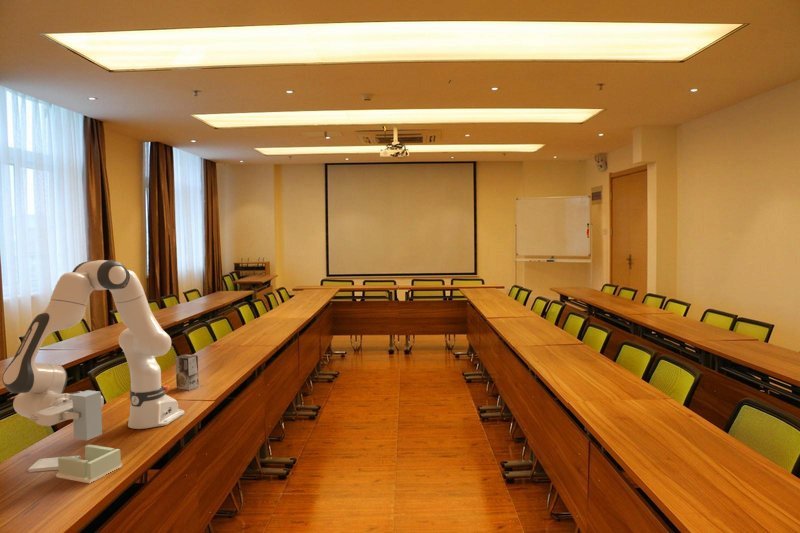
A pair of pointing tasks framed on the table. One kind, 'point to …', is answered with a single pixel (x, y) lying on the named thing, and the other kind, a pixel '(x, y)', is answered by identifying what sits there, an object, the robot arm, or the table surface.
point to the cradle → (90, 464)
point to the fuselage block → (87, 415)
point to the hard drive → (47, 464)
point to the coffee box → (187, 371)
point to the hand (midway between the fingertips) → (89, 412)
